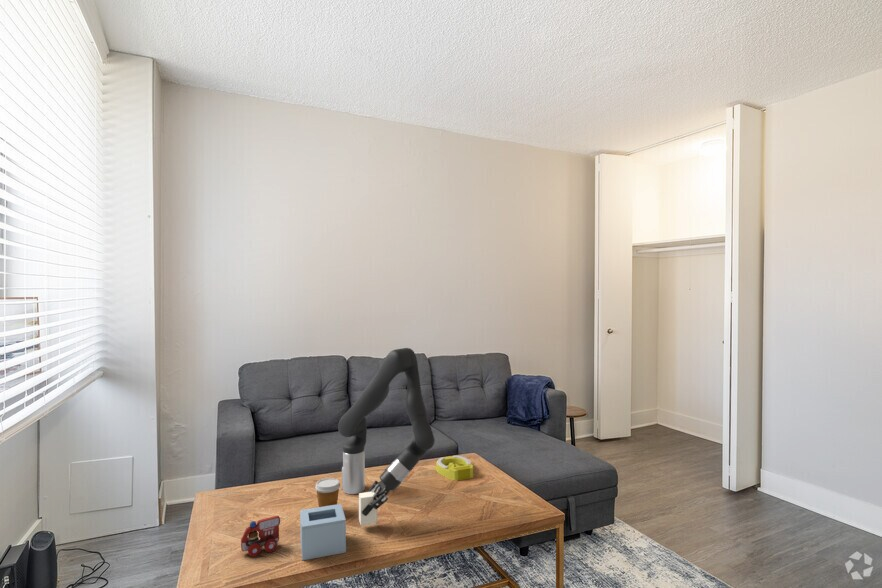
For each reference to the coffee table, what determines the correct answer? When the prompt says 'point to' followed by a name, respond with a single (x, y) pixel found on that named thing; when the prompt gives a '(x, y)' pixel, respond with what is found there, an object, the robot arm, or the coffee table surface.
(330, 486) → the disposable coffee cup
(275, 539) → the toy fire truck
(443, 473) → the yellow low hollow piece
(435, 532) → the coffee table surface
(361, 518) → the block
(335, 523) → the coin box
